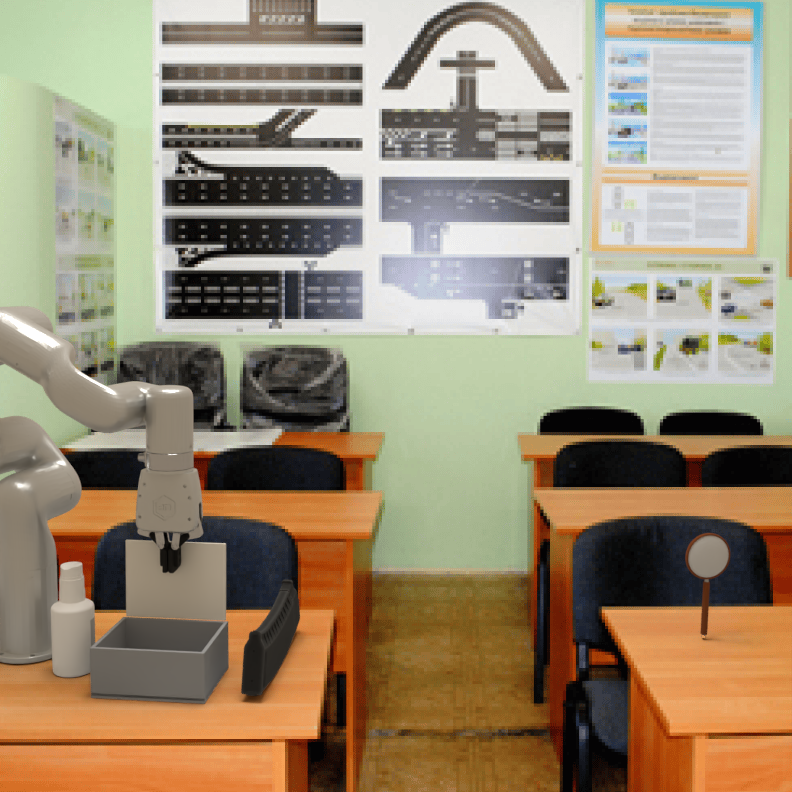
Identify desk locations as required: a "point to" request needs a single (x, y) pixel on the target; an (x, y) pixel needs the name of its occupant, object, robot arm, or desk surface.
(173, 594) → the carton flap
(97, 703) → the desk surface
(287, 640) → the magazine
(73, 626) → the spray bottle
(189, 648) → the carton
